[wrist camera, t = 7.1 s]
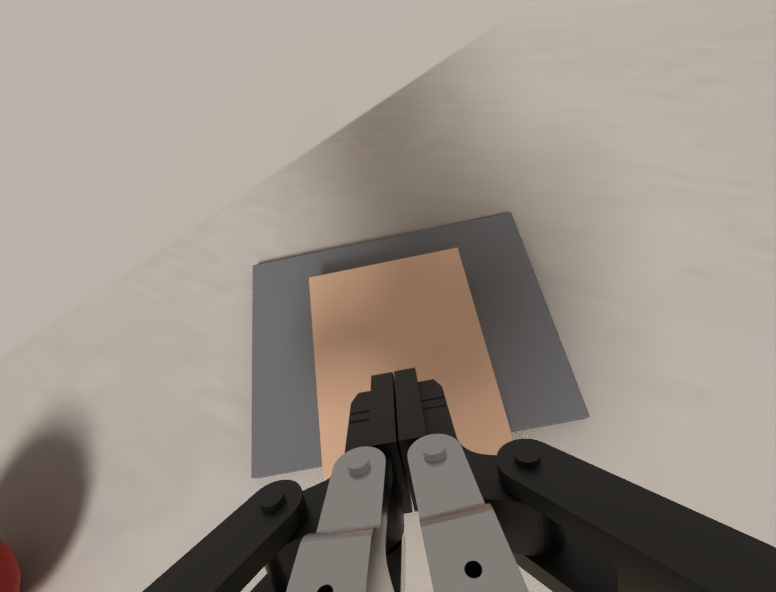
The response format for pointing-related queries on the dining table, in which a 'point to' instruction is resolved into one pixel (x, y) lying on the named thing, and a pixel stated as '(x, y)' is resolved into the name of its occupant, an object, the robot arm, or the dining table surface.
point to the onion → (8, 570)
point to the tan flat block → (403, 345)
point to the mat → (493, 307)
